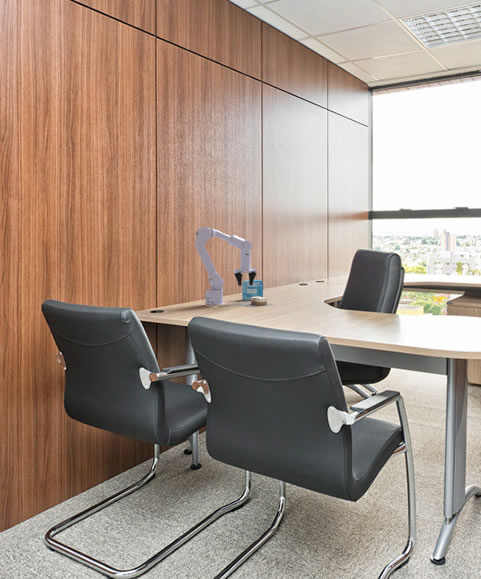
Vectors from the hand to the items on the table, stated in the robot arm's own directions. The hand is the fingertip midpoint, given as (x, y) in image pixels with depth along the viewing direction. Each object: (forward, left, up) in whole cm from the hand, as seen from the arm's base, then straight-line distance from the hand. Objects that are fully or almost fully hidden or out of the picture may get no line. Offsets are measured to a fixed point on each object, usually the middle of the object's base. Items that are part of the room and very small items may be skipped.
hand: (245, 285), depth 314 cm
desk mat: (-1, -9, -10) cm, 14 cm away
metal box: (+1, -12, -10) cm, 16 cm away
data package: (+12, +9, -11) cm, 18 cm away
